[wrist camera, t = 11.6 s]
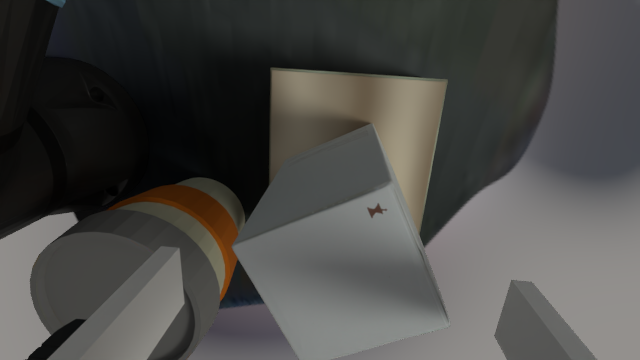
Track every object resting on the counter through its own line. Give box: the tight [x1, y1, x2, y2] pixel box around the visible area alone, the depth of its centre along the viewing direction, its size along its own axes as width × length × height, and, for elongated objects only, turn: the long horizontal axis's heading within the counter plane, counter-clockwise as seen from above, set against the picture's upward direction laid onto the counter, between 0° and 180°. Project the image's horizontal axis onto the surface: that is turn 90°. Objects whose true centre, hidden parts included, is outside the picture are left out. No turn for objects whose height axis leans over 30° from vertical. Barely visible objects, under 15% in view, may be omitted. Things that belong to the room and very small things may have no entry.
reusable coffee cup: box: [30, 177, 245, 360], centre depth 30 cm, size 12×12×15 cm
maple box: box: [269, 68, 448, 234], centre depth 29 cm, size 12×16×8 cm
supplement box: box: [232, 123, 450, 360], centre depth 20 cm, size 7×7×13 cm
